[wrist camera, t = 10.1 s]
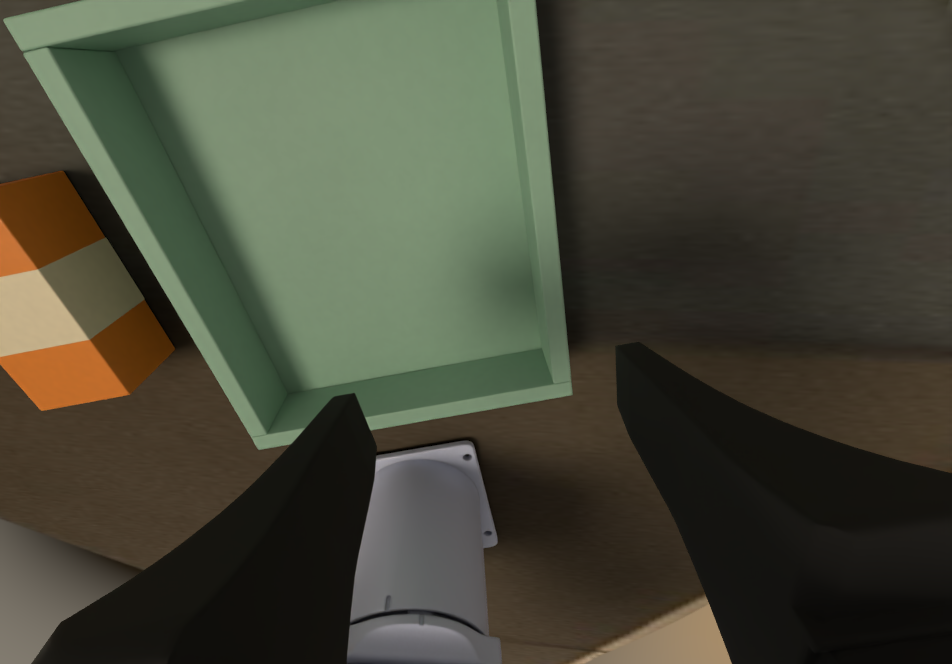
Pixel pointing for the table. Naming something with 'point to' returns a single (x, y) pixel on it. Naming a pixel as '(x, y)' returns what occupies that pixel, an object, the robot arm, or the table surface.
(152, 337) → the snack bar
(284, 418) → the tub
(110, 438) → the table surface
